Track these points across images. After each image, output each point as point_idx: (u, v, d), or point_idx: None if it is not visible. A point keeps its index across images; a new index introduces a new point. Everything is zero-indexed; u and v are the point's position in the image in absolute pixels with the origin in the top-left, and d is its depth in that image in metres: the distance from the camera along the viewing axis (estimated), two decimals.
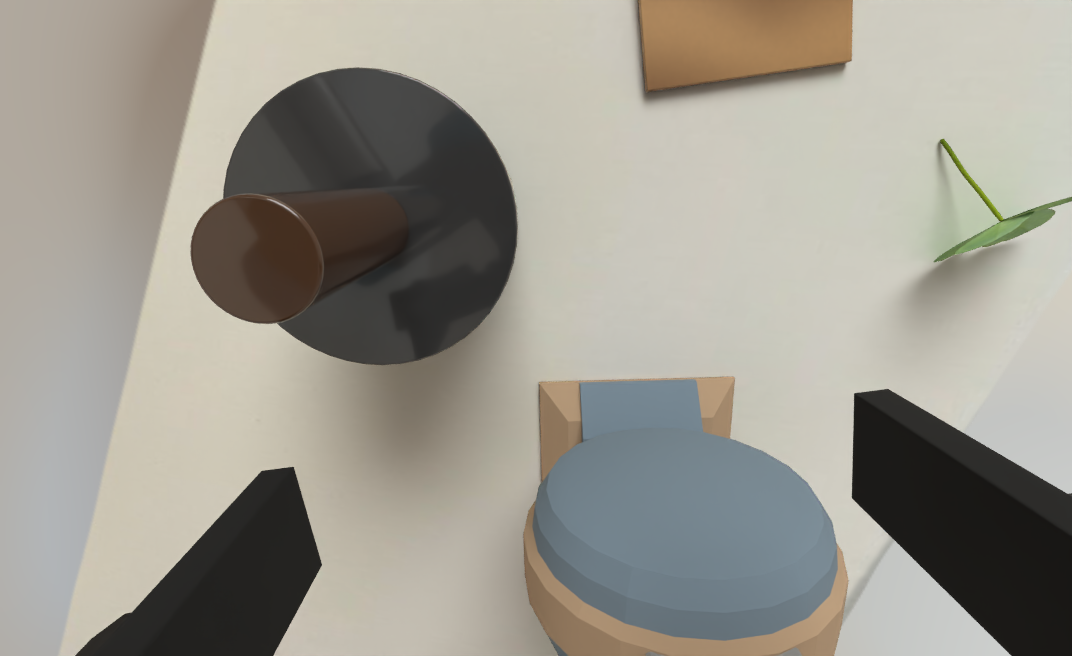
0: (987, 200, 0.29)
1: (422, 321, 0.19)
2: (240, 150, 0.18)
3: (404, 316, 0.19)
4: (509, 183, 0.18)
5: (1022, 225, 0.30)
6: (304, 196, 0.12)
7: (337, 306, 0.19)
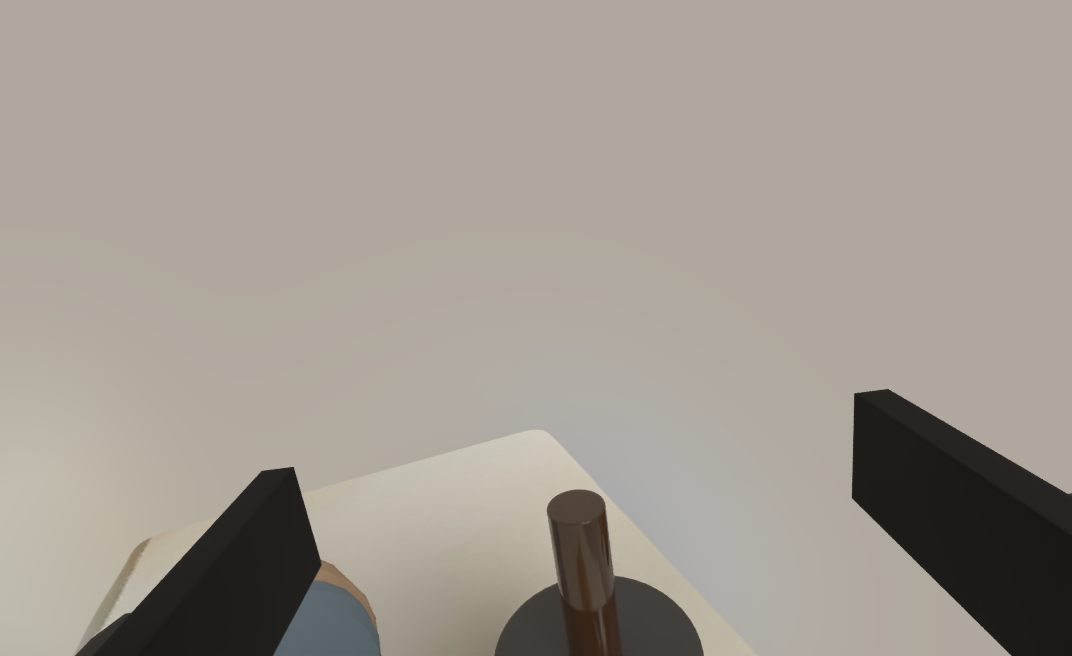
0: None
1: (525, 634, 0.27)
2: (687, 622, 0.27)
3: (537, 628, 0.28)
4: None
5: None
6: (592, 551, 0.23)
7: None
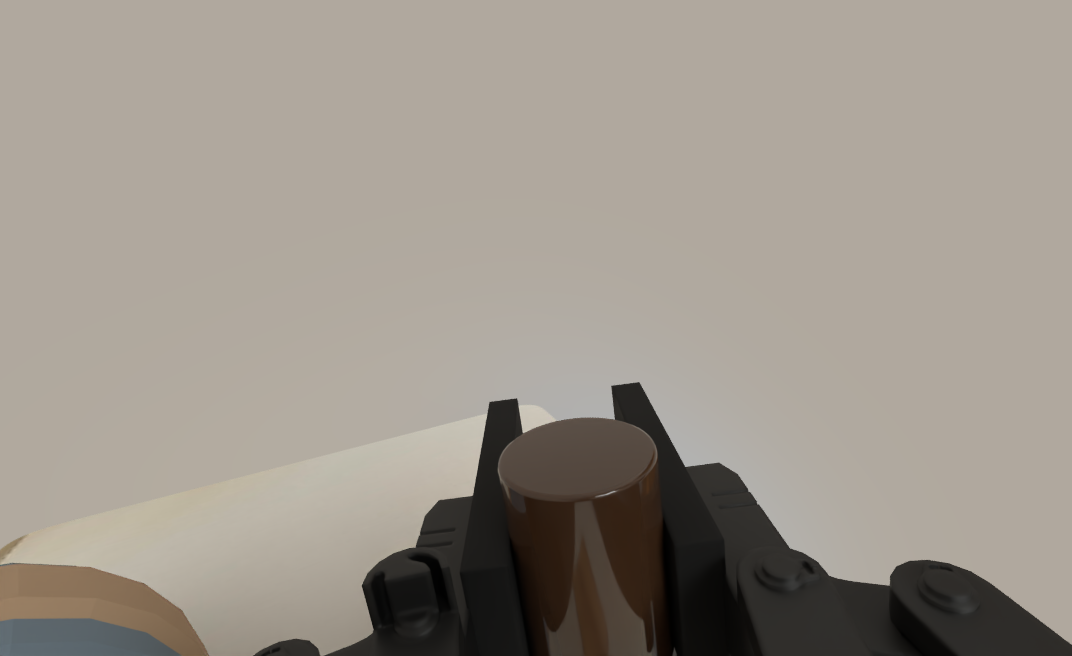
0: None
1: None
2: None
3: None
4: None
5: None
6: (623, 576, 0.08)
7: None
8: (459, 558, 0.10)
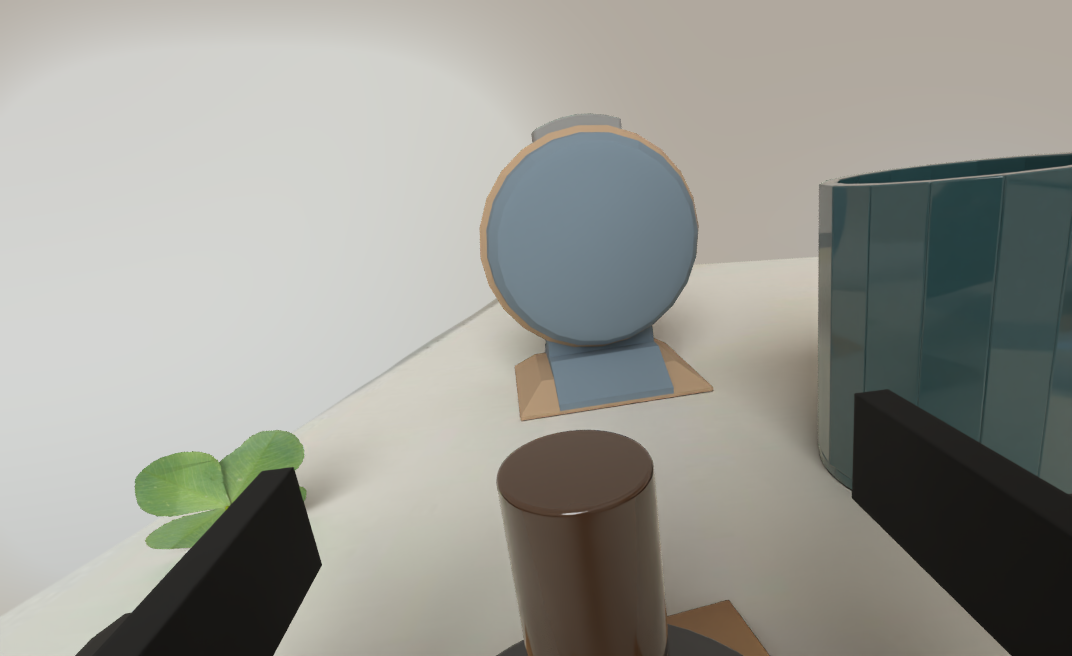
0: None
1: None
2: None
3: None
4: None
5: (188, 532, 0.24)
6: (619, 589, 0.08)
7: None
8: None
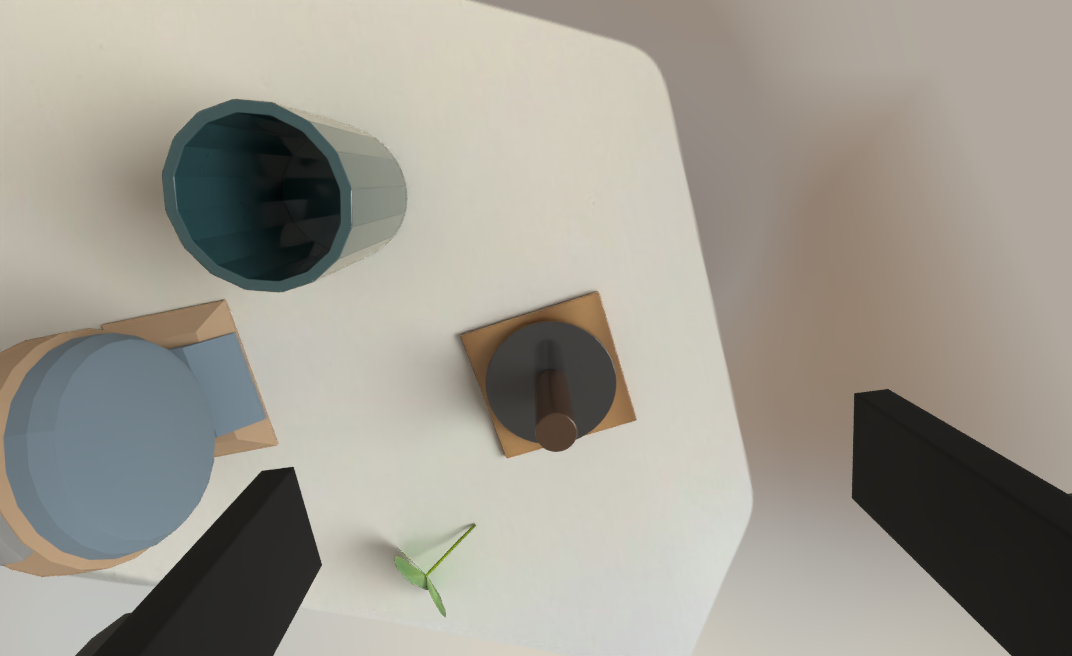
0: (438, 563, 0.45)
1: None
2: (531, 328, 0.40)
3: (533, 421, 0.42)
4: (609, 408, 0.41)
5: None
6: (573, 414, 0.34)
7: (513, 400, 0.41)
8: None
